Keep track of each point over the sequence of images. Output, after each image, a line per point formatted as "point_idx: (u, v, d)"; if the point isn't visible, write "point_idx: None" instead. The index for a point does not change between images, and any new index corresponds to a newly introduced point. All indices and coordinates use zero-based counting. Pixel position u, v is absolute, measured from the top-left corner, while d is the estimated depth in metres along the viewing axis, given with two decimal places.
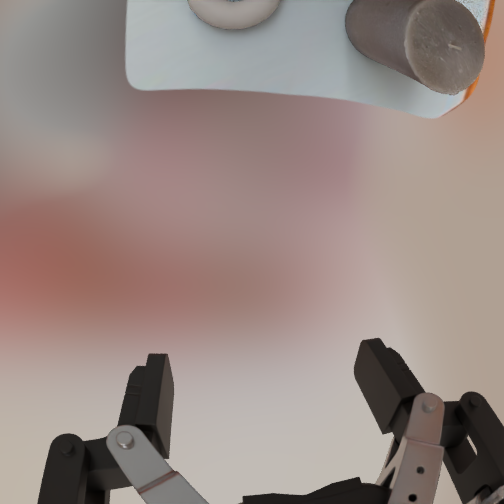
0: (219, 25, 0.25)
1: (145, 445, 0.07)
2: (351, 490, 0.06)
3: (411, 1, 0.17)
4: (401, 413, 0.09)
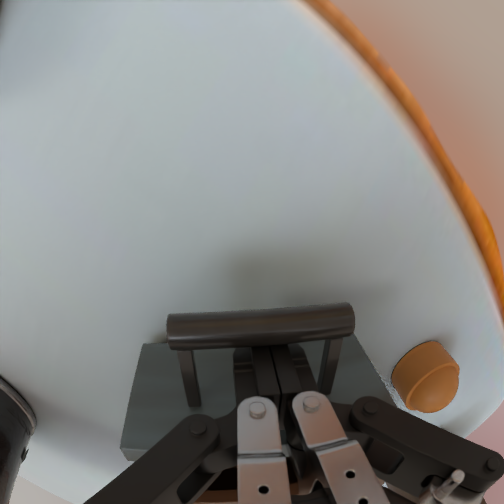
0: None
1: (272, 421, 0.08)
2: None
3: None
4: (287, 409, 0.10)
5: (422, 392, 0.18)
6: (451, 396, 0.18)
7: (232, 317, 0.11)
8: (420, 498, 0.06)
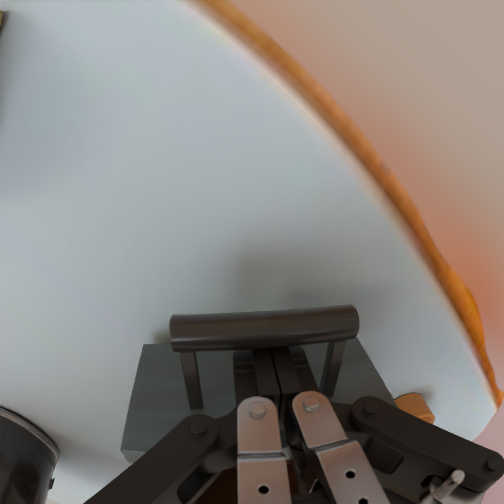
0: None
1: (272, 421, 0.08)
2: None
3: None
4: (286, 409, 0.10)
5: None
6: None
7: (236, 319, 0.11)
8: (420, 498, 0.06)
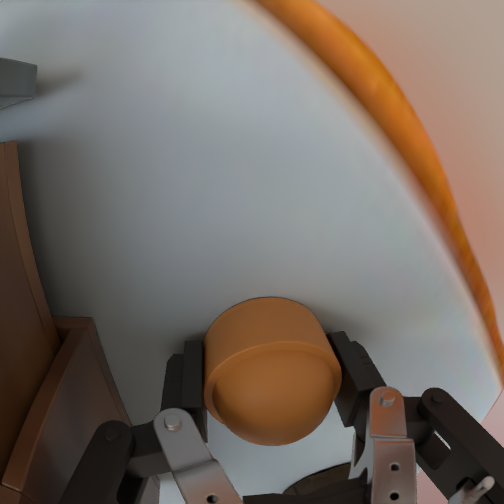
0: None
1: (191, 430, 0.08)
2: (351, 490, 0.06)
3: None
4: (360, 406, 0.09)
5: (223, 397, 0.10)
6: (297, 421, 0.09)
7: None
8: (450, 498, 0.06)
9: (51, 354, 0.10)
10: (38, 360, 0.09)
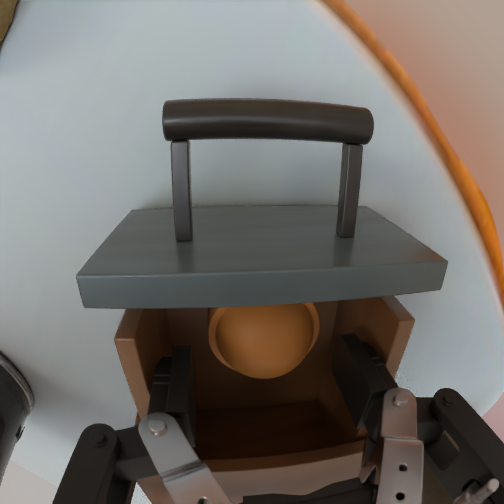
0: None
1: (177, 434, 0.08)
2: (351, 490, 0.06)
3: None
4: (372, 407, 0.09)
5: (224, 331, 0.13)
6: (281, 349, 0.12)
7: (238, 98, 0.09)
8: (455, 500, 0.06)
9: None
10: None
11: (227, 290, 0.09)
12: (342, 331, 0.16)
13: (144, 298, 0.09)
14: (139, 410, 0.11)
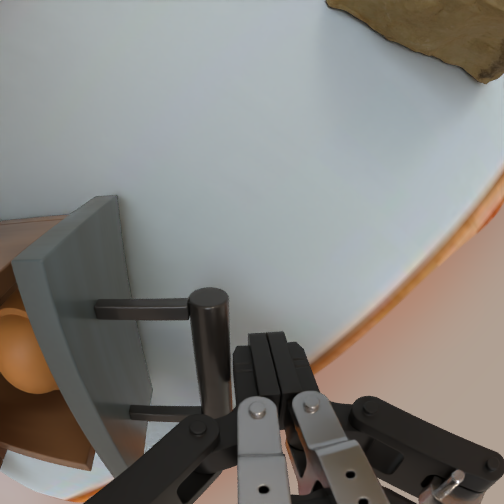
0: None
1: (272, 421, 0.08)
2: None
3: None
4: (287, 409, 0.10)
5: (22, 330, 0.10)
6: (27, 385, 0.10)
7: None
8: (420, 498, 0.06)
9: None
10: None
11: (71, 387, 0.08)
12: (48, 392, 0.15)
13: (40, 328, 0.07)
14: None
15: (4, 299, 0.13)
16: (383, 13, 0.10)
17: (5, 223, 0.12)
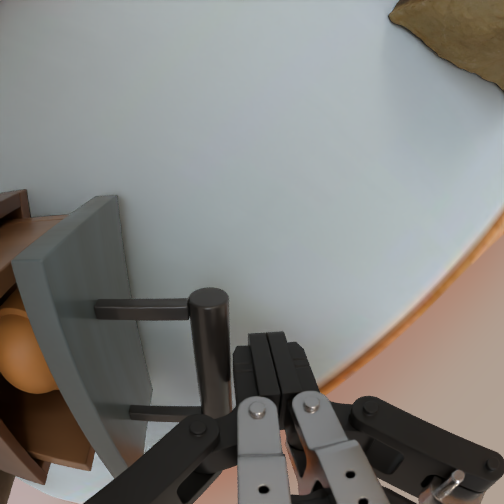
0: None
1: (272, 421, 0.08)
2: None
3: None
4: (287, 409, 0.10)
5: (22, 330, 0.10)
6: (27, 385, 0.10)
7: (229, 351, 0.11)
8: (420, 498, 0.06)
9: None
10: None
11: (71, 387, 0.08)
12: (48, 392, 0.15)
13: (40, 327, 0.07)
14: None
15: (4, 299, 0.13)
16: (440, 33, 0.11)
17: (5, 223, 0.12)
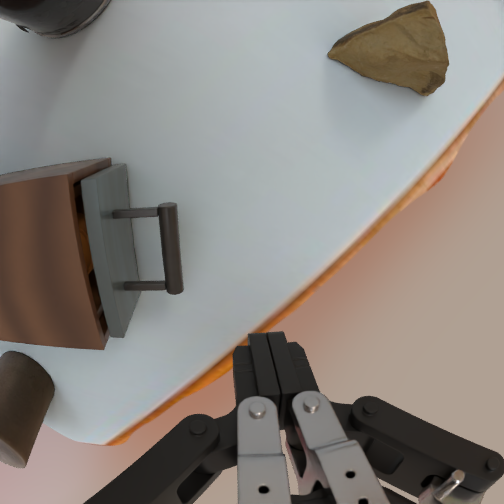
0: None
1: (272, 421, 0.08)
2: None
3: None
4: (287, 409, 0.10)
5: None
6: None
7: (178, 236, 0.23)
8: (420, 498, 0.06)
9: None
10: None
11: (97, 246, 0.20)
12: None
13: (89, 211, 0.19)
14: None
15: None
16: (358, 62, 0.22)
17: None
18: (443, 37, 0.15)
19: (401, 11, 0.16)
